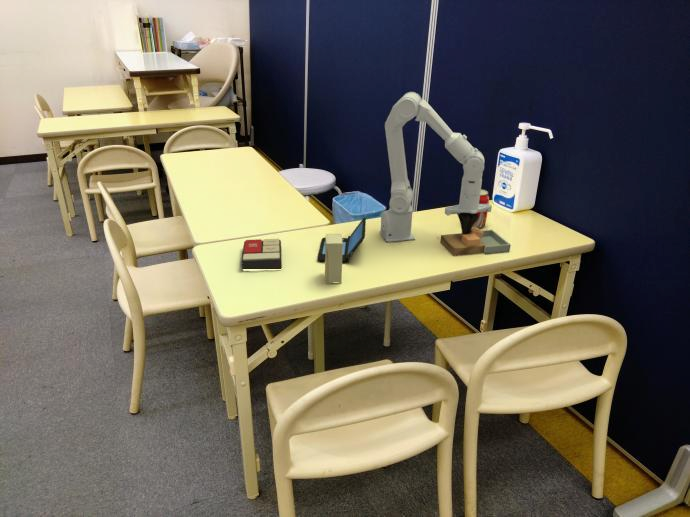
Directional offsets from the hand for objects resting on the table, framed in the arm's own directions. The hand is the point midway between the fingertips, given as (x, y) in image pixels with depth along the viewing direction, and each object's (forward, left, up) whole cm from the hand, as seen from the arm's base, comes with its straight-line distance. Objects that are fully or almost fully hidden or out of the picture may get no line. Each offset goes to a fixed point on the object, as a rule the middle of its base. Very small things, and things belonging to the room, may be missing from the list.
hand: (465, 234), depth 162 cm
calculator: (-63, +3, -4) cm, 63 cm away
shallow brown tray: (-2, -2, -3) cm, 4 cm away
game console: (-39, +3, -4) cm, 39 cm away
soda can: (+10, +13, -3) cm, 17 cm away
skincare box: (-45, -13, -3) cm, 47 cm away
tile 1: (+3, 0, -1) cm, 3 cm away
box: (+7, -3, -3) cm, 8 cm away
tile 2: (-1, -5, -1) cm, 5 cm away
